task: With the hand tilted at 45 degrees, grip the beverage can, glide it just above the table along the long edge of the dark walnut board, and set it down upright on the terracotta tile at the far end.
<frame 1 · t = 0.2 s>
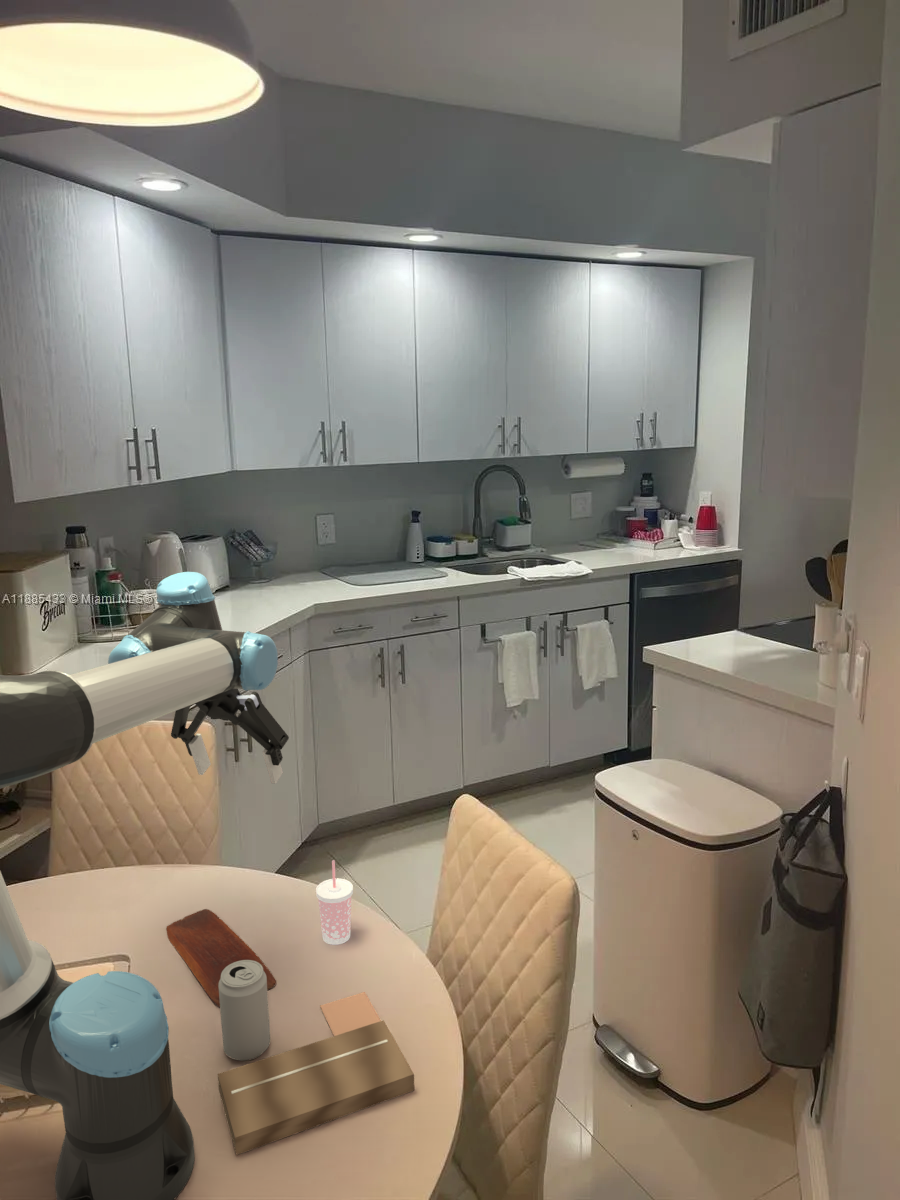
hand: (240, 773, 143), 27 cm above the table, tool tilted 15°, fingers open, 13 cm apart
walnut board: (316, 1090, 113), on the table
end tile: (350, 1015, 127), on the table
beverage can: (247, 1048, 121), on the table
wooden tablet: (217, 958, 141), on the table
beverage cup: (336, 937, 145), on the table
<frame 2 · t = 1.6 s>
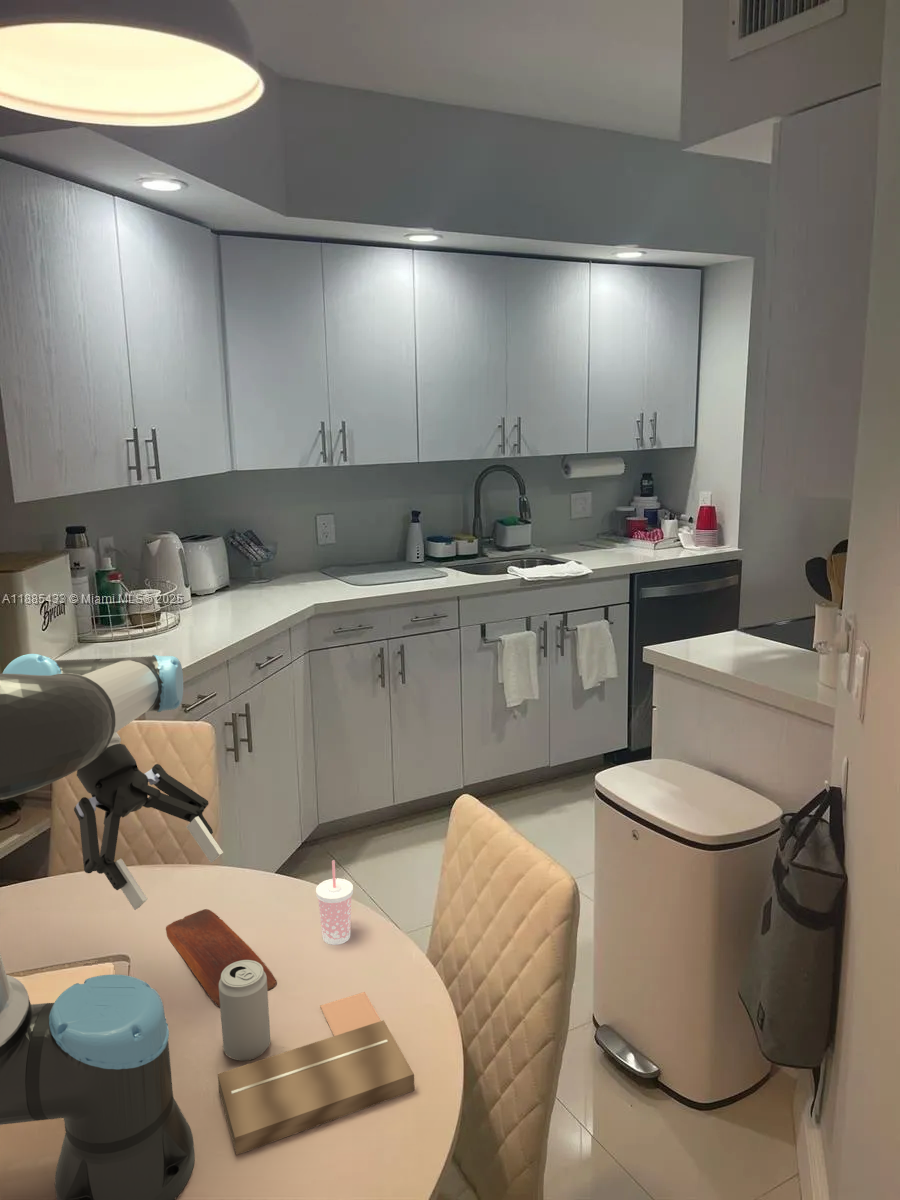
hand: (181, 880, 121), 23 cm above the table, tool tilted 45°, fingers open, 13 cm apart
nothing on the table moved.
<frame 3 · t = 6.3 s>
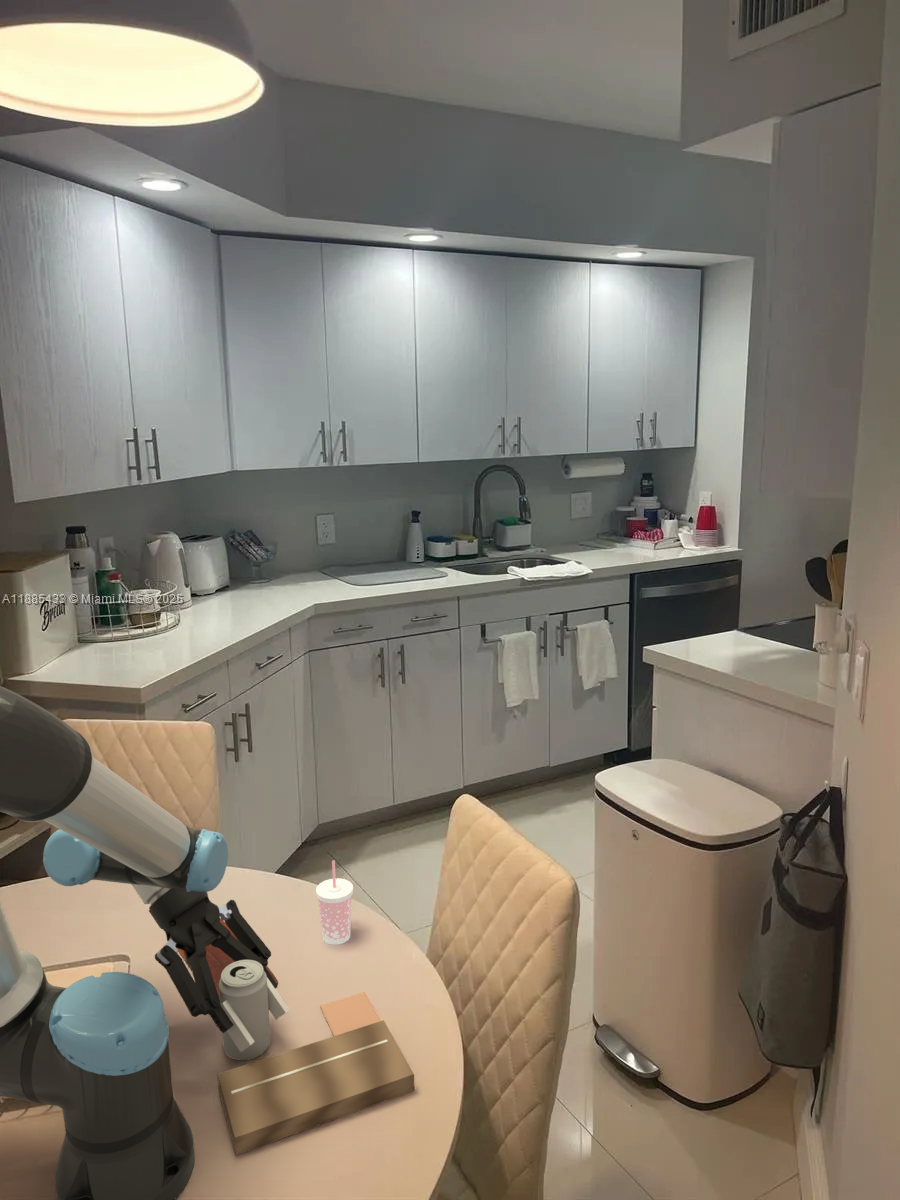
hand: (265, 1030, 118), 4 cm above the table, tool tilted 45°, fingers closed on beverage can, 6 cm apart
beverage can: (247, 1048, 121), on the table, touching gripper
everything else where it was.
when the fingers open (5 cm above the table, at t = 11.1 s): beverage can stays where it is, resting on end tile.
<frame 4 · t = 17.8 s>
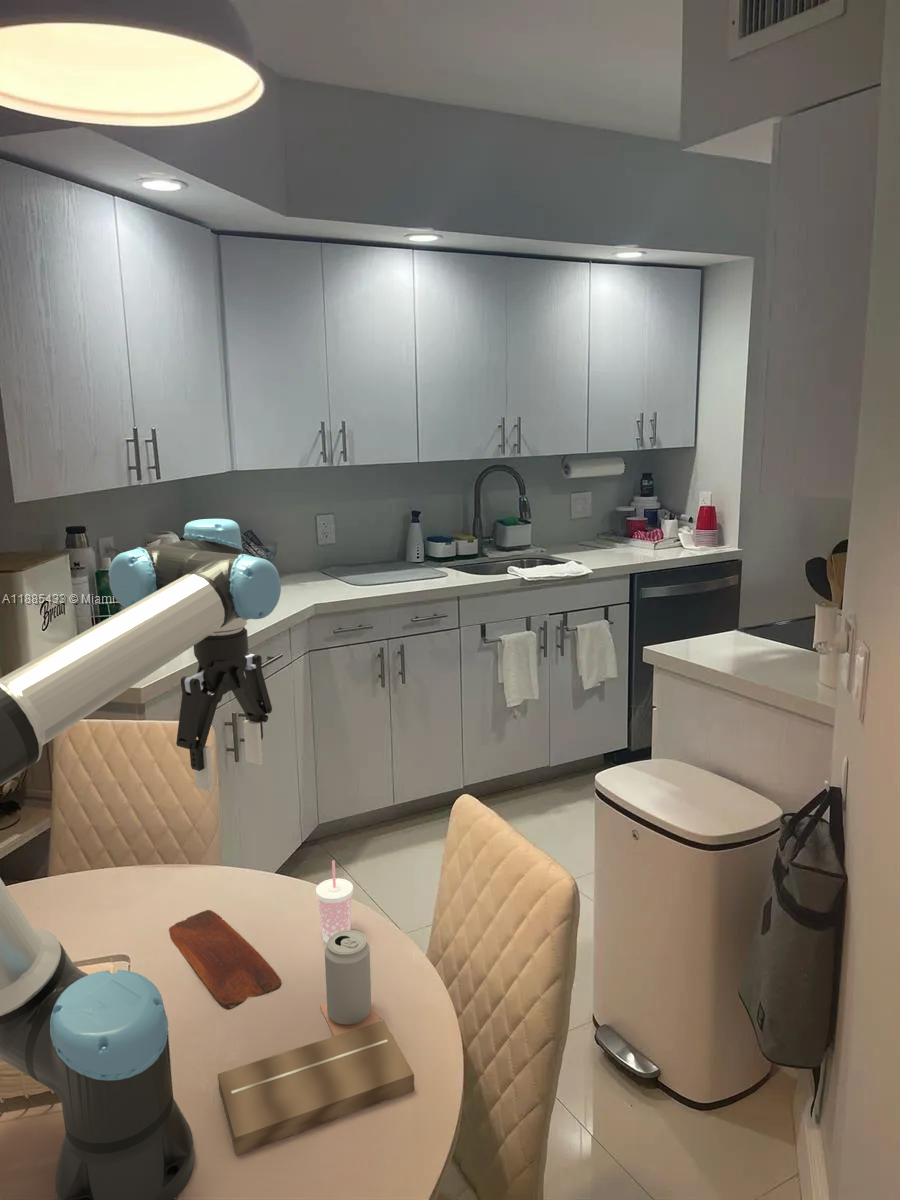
hand: (230, 774, 128), 34 cm above the table, tool pointing down, fingers open, 10 cm apart
beverage can: (349, 1014, 127), resting on end tile
everything else where it was.
at the end: beverage can 0.1 cm from the target spot, resting on end tile; beverage can tilted 0°; the gripper is holding nothing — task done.
